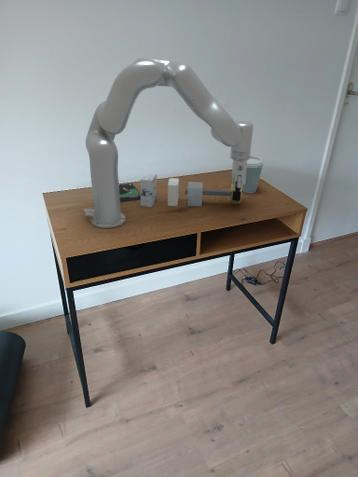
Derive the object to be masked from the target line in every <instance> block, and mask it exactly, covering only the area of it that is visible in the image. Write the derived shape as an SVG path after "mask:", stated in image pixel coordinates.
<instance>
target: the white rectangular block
mask: <svg viewBox="0 0 358 477" xmlns="http://www.w3.org/2000/svg"><path fill="white" fill-rule="evenodd" d="M179 187H180V179H179V178H175V177H173V178H172V177H171V178H169V179H168V183H167V206H169V207H178V205H179V199H180V198H179V196H180V195H179V194H180V193H179V192H180V191H179V190H180V188H179Z"/></svg>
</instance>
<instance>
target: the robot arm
mask: <svg viewBox="0 0 358 477" xmlns="http://www.w3.org/2000/svg"><path fill="white" fill-rule="evenodd" d="M158 86H159V87H169V88H170V87H171V88H173V89H174V90H175V91H176V93H177V94H178V95H179V96H180V98H181V99H182V100H183V101H184V102H185V104H186V105H187V106H188V107H189V109H190V111H192V113H194V114H195V115H196V116H197V117H198V118H199V119H201V120H202V121H204V123H206V124H207V125H208V126H209V127H210V134H211V136H212V138H213V139H214V140H216V141H218V142H219V143H221V144H222V145H224V146H225V147H228V148H230V157H229V158H230V159H231V160H232V167H231V168H232V169H231V178H232V182H233V184H234V191H233V197H232V200H236V201H240V197H241V198H242V196H241V184H243V185H245V182H246V170H247V160H249V159H250V156H251V151H252V150H251V149H252V141H253V132H254V125H253V123H252V122H251V121H248V120H237V121H235V120H234V119H233V117H232V116H231V115H230V113H229V112H228V111H226V109H225V108H224V107H223V106H222V105H221V104H220V103H219V102H218V100H217V99H216V98H215V97H214V96H213V95H212V93H211V91H209V90H208V88H207V86H205V84H204V83H203V81H202V80H201V78H199V76H198V75H197V73H196V72H195V70H194V69H193V68H192V67H191V66H190V65H189V64H188V63H186V62H183V61H179V60H178V61H177V60H165V59H164V60H163V59H156V58H149V57H140V58H139V57H138V58H137V59H135V60H134V61H133V62H132V63H131V64H129V65H127V66H126V67H125V68H123V69H122V70H121V71H119V73H118V74H117V75H116V77H115V78H114V81H113V83H112V85H111V88H110V91H109V92H108V95H107V98H106V100H105V101H102V102H101V103H99V104H98V105H97V108H96V109H95V111H94V113H93V116H92V119H91V122H90V124H89V128H88V130H87V135H86V137H85V148H86V149H87V154H88V158H89V169H90V171H89V172H90V180H91V181H90V183H91V191H92V199H93V208H84V209H83V214H84V215H85V217H91V218H90V220H91V221H90V222H91V224H92V225H93V226H95V227H97V228H102V229H107V228H108V229H110V228H116V227H119V226H121V225H123V224H124V223H125V222H126V216H125V214H123V213H122V211H121V202H120V193H119V185H120V182H119V151H118V147H117V145H116V143H115V141H114V140H115V137H116V136H117V135H120V134H121V133H123V132H124V130H125V129H126V127H127V123H128V122H129V118H130V115H131V113H132V110H133V107H134V106H135V103H136V100H137V99H138V96H139V95H140V94H141V93H142V92H143V91H145V90H147V89H152V88H155V87H158ZM236 182H237V184H236ZM236 185H237V187H236Z"/></svg>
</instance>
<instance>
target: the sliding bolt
mask: <svg viewBox="0 0 358 477" xmlns="http://www.w3.org/2000/svg"><path fill="white" fill-rule="evenodd" d="M236 184H237V182H236ZM236 187H237V185H236ZM242 187H243V184H241V197H240V201H236V200H232V197H233V191H234V184H233V181H232V182H231V184H230V189H228V190H227V189H206V188H205V189H204V188H203V191H202V196H215V197H216V196H218V197H221V196H223V197H229V202H230V203H232V204H240V203H241V202H242V194H243V191H242ZM184 195H188V188H185V189H184Z"/></svg>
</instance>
